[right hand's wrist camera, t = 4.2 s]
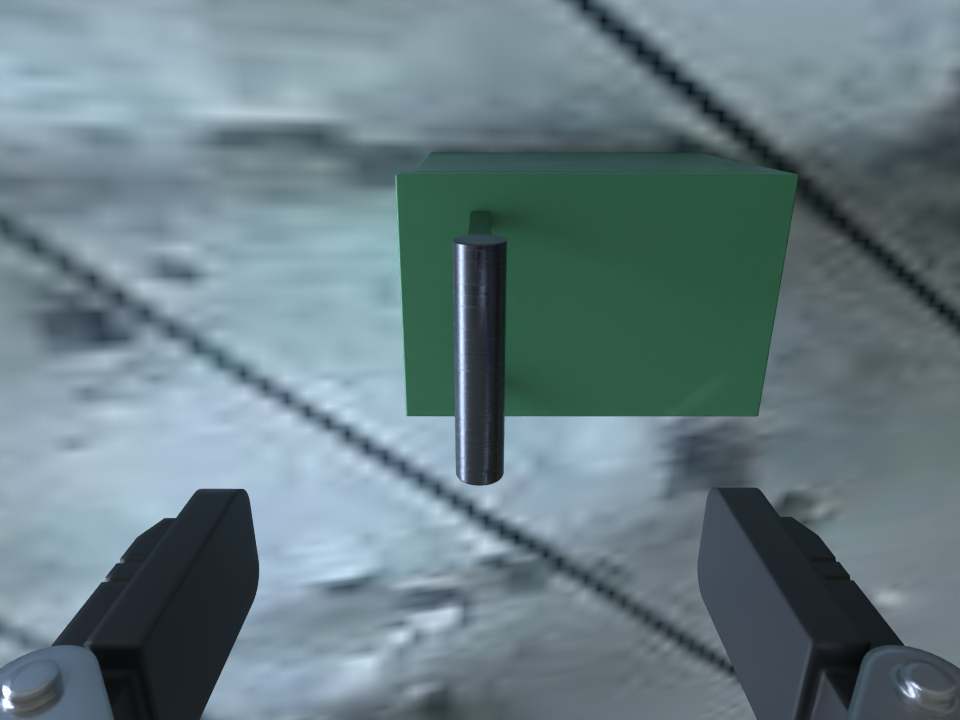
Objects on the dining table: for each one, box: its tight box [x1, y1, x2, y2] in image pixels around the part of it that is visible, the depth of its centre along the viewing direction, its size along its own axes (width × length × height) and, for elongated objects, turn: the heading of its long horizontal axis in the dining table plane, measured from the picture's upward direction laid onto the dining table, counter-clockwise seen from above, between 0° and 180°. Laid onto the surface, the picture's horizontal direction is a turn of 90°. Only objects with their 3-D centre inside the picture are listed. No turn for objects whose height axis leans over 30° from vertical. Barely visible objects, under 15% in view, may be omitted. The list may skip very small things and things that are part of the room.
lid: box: [395, 172, 799, 485], centre depth 22 cm, size 14×9×8 cm
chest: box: [412, 153, 783, 172], centre depth 30 cm, size 14×9×10 cm
